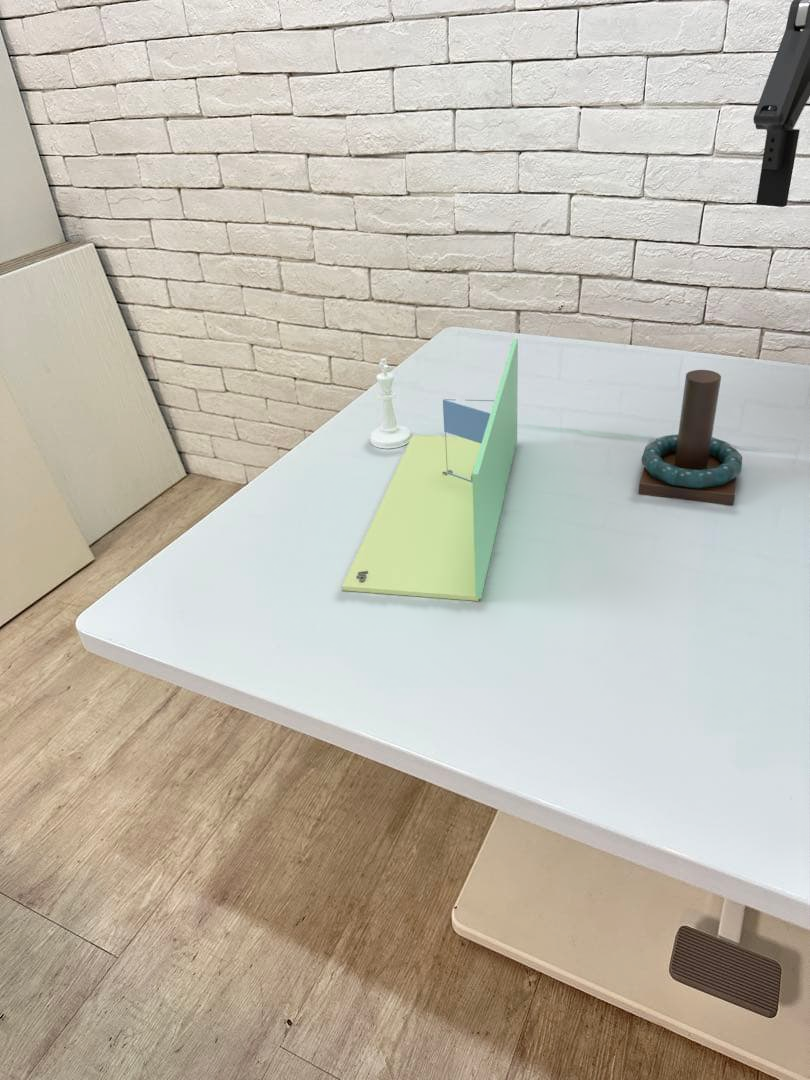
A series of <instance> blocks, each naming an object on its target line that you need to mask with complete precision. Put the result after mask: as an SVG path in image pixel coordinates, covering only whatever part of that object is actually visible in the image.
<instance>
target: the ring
mask: <svg viewBox="0 0 810 1080" xmlns="http://www.w3.org/2000/svg"><path fill="white" fill-rule="evenodd" d="M677 441H678V433H677V434H670V435H663V436H661V437H659V438H657V439H655V440H653V441H652V442H649V443H647V445H646V446H645V447H644V449H643V453H642V456H641V465H642V466H643V468H644V467H645V468H646V469H647V471H648V472H649V473H650V474H651V475H652V476H653V477H654V478H657V479H659V480H662V481H664V482H666V483H669V484H671V485H674V486H682V487H690V488H706V487H713V486H720V485H724V484H725V483H727V482H729V481H730V480H732V479H734V478H735V477H737V478H738V477H739V476H740V474H741V472H742V467H743V456H742V454H741V453H740V452H739V451H738V450H737V449H736V448H735V447H734V446H733V445H731V444H730V443H729V442H727V441H725V440H722V439H719V438H717V437H713V436H712V440H711V446H710V453H709V455H711V456H714V457H717V458H718V459H719V460H720V461H721V462H722V463H723V464H721V465H720V466H718V467H716V468H710V469H702V470H695V469H686V468H679V467H676V466H673V465H671V464H668V463H666V462H664V461H663V460H662V459H661V456H663V455H665V454H667V453H670V452H676V448H677Z"/></svg>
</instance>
